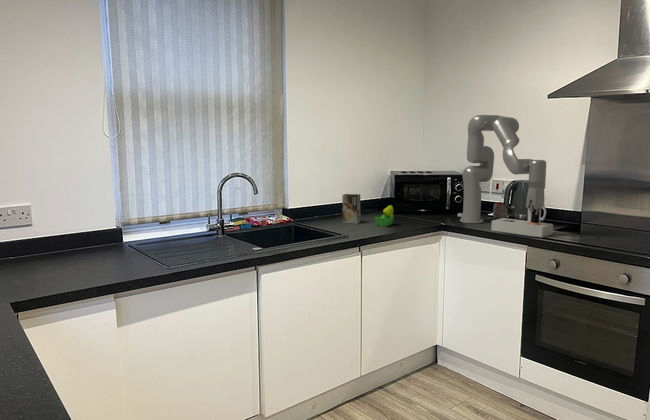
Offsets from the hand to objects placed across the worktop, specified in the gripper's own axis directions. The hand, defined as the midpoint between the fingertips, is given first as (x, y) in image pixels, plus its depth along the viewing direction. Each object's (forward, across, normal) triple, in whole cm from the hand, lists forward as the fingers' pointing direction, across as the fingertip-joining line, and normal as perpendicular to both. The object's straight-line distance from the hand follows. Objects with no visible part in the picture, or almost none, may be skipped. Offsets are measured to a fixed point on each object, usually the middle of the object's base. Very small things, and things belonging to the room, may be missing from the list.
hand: (534, 222), depth 242 cm
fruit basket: (+6, +33, -68) cm, 75 cm away
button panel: (+6, 0, -7) cm, 9 cm away
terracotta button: (+5, 0, 0) cm, 5 cm away
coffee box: (+6, +40, -87) cm, 96 cm away
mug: (+6, -26, -11) cm, 29 cm away
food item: (+6, -32, -36) cm, 48 cm away
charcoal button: (+5, 0, -13) cm, 14 cm away
